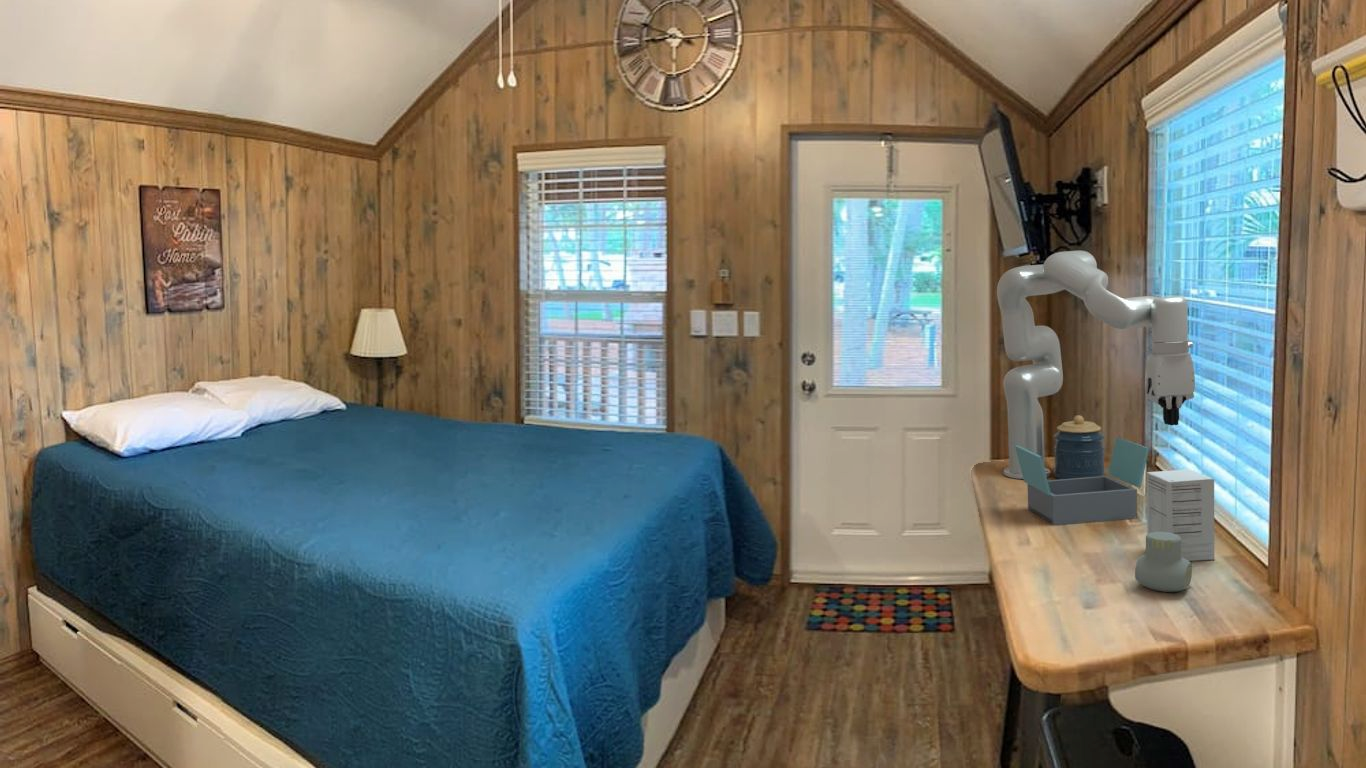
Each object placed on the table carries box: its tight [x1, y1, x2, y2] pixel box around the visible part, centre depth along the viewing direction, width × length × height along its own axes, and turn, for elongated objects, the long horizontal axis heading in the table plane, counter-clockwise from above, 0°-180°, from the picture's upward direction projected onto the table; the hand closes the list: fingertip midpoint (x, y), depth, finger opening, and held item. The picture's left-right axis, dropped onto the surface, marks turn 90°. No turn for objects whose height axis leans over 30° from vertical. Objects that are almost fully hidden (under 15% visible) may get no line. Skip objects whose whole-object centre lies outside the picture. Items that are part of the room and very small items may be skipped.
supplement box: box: [1146, 469, 1216, 562], centre depth 180 cm, size 10×9×17 cm
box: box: [1027, 475, 1138, 526], centre depth 212 cm, size 14×20×7 cm
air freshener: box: [1134, 532, 1193, 593], centre depth 164 cm, size 11×8×10 cm
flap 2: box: [1107, 436, 1150, 489], centre depth 212 cm, size 14×10×1 cm
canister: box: [1053, 414, 1106, 480], centre depth 245 cm, size 13×13×18 cm
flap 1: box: [1015, 445, 1051, 495], centre depth 211 cm, size 14×10×1 cm
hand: (1171, 424), depth 210 cm, fingers closed
